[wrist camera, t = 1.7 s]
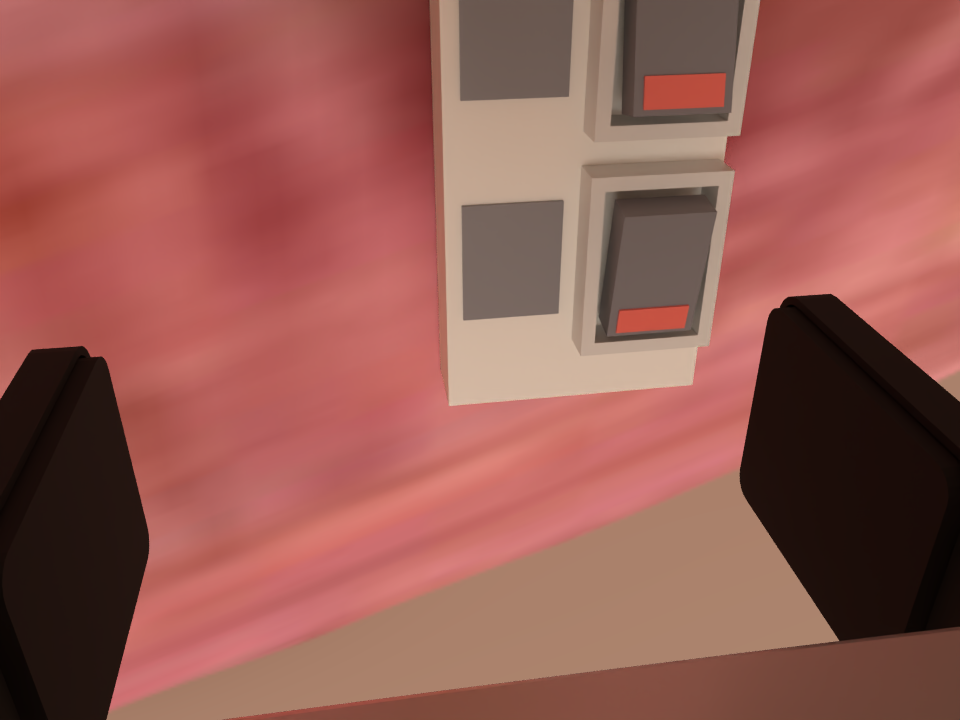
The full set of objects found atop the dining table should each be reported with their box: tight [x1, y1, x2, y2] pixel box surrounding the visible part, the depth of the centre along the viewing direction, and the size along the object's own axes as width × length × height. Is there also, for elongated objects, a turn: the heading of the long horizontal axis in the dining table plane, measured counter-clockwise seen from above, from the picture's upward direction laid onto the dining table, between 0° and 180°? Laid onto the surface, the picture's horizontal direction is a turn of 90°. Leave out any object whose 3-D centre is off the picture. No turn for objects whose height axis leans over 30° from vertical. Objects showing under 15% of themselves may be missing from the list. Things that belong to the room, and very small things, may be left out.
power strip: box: [430, 0, 760, 406], centre depth 28 cm, size 28×10×4 cm, turn 0°
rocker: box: [599, 194, 717, 337], centre depth 31 cm, size 5×3×1 cm, turn 0°
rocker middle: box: [622, 0, 739, 117], centre depth 27 cm, size 5×3×1 cm, turn 1°
